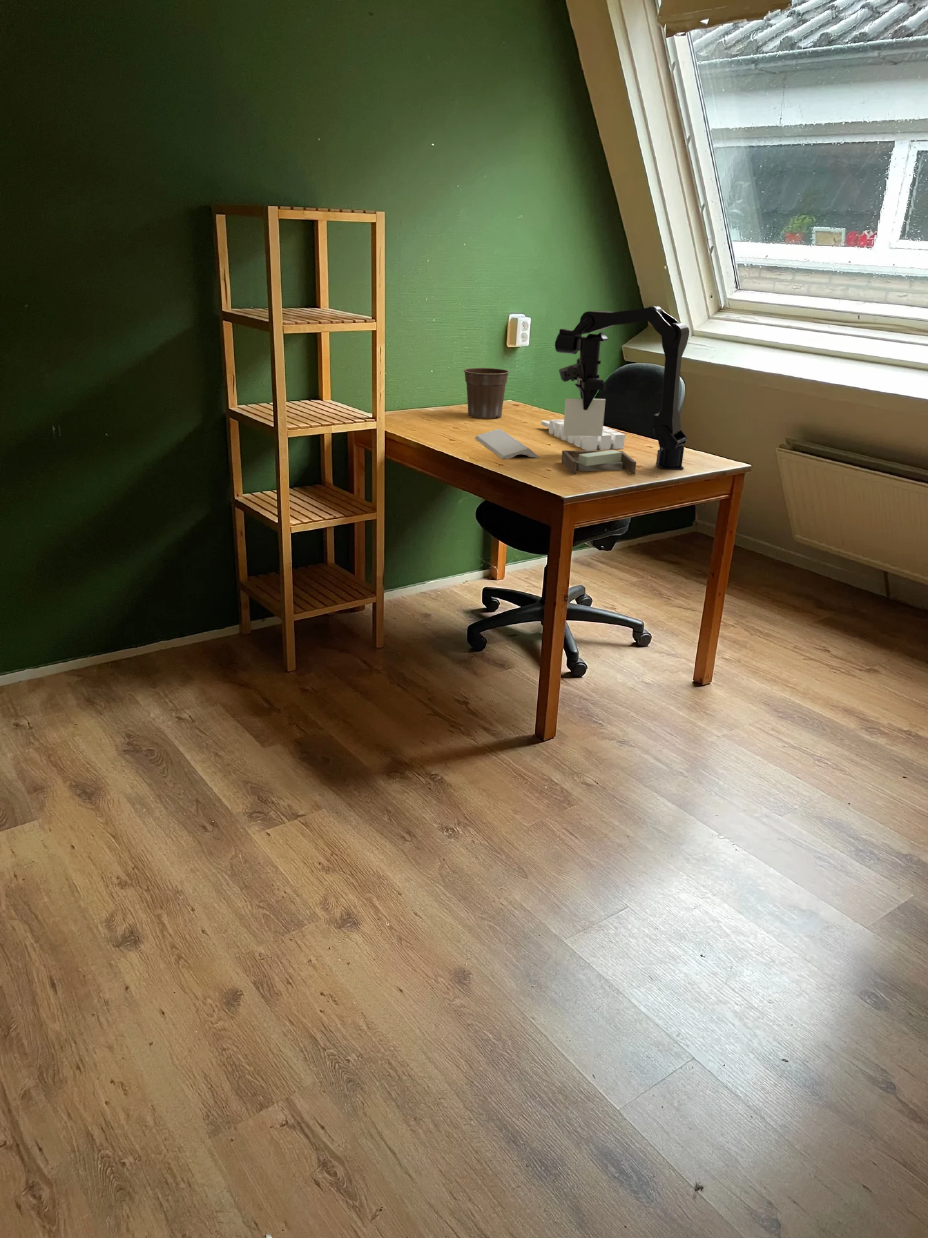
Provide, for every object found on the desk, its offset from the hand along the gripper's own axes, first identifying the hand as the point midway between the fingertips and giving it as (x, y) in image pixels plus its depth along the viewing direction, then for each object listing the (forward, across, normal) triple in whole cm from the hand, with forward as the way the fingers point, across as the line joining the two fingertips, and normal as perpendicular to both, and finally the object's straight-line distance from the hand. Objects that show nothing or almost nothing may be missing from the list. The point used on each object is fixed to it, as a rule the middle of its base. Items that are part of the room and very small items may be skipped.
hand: (584, 409), depth 271 cm
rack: (+13, +20, 0) cm, 24 cm away
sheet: (+8, 0, 0) cm, 8 cm away
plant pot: (+14, -58, -22) cm, 64 cm away
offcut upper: (+11, +20, 0) cm, 23 cm away
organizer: (+14, -22, +5) cm, 26 cm away
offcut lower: (+14, +20, 0) cm, 25 cm away
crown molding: (+14, -7, -22) cm, 27 cm away
